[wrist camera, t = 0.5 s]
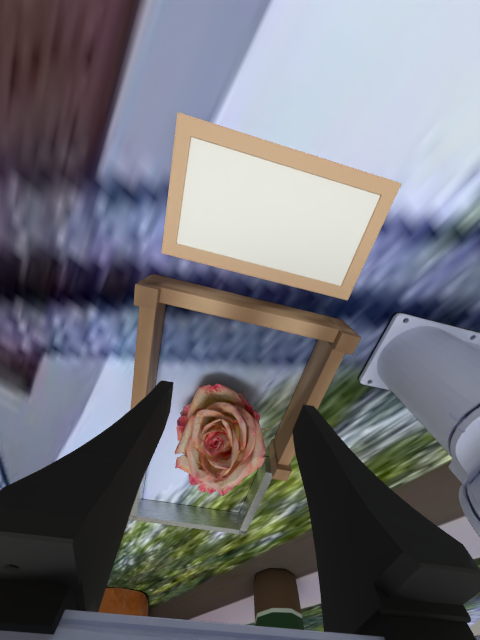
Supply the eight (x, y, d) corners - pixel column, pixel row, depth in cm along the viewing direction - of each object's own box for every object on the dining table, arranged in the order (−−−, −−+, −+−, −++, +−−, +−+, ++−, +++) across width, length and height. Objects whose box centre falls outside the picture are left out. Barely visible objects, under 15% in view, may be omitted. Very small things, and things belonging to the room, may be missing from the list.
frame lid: (395, 185, 17) (401, 183, 16) (344, 297, 20) (347, 300, 20) (180, 116, 15) (177, 112, 14) (164, 252, 19) (161, 253, 18)
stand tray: (271, 457, 28) (274, 473, 26) (244, 517, 33) (244, 534, 32) (142, 435, 27) (135, 450, 25) (134, 502, 32) (128, 519, 30)
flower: (281, 438, 25) (285, 466, 18) (216, 480, 25) (192, 525, 18) (238, 367, 27) (226, 366, 20) (178, 406, 27) (145, 418, 20)
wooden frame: (342, 319, 21) (361, 337, 18) (280, 450, 28) (286, 480, 24) (153, 273, 19) (135, 284, 16) (137, 425, 26) (122, 454, 23)
